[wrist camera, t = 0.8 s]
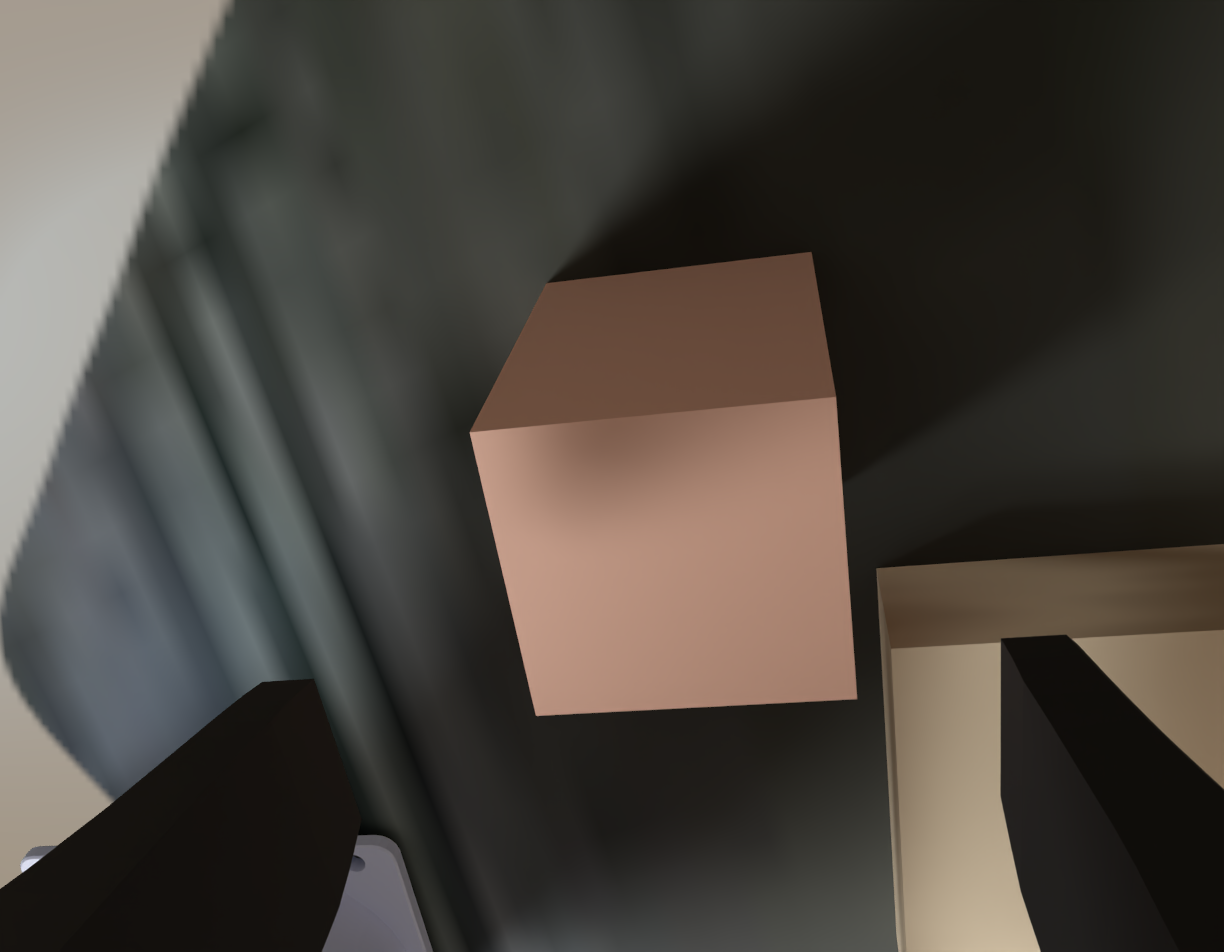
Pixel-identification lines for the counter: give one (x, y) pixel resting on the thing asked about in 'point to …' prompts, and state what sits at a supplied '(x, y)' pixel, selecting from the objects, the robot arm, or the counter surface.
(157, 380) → the counter surface
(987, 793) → the oak block
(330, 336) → the counter surface
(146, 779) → the robot arm
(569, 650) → the pinkish brown block
